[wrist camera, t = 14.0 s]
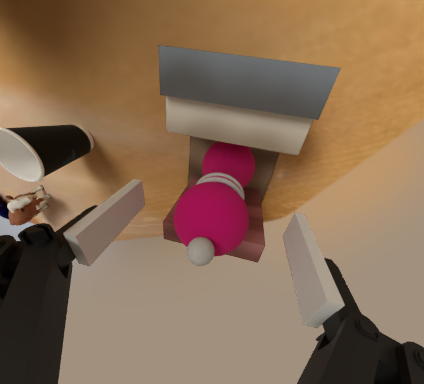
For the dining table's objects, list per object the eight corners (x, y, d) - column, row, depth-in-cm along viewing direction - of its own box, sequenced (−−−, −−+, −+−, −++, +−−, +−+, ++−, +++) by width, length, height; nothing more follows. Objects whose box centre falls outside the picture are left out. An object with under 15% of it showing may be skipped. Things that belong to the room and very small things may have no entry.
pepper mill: (236, 184, 29) (216, 308, 12) (202, 161, 28) (128, 261, 11) (264, 150, 25) (289, 264, 8) (225, 123, 24) (165, 188, 8)
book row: (196, 67, 23) (141, 41, 11) (301, 81, 21) (362, 69, 10) (189, 186, 33) (156, 236, 21) (260, 201, 31) (266, 264, 20)
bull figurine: (59, 188, 41) (21, 208, 34) (46, 213, 47) (12, 233, 40) (43, 176, 40) (0, 193, 33) (32, 202, 46) (-7, 222, 39)
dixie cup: (104, 162, 34) (49, 189, 25) (69, 152, 34) (2, 174, 25) (97, 122, 30) (29, 136, 20) (58, 111, 30) (-27, 120, 21)
